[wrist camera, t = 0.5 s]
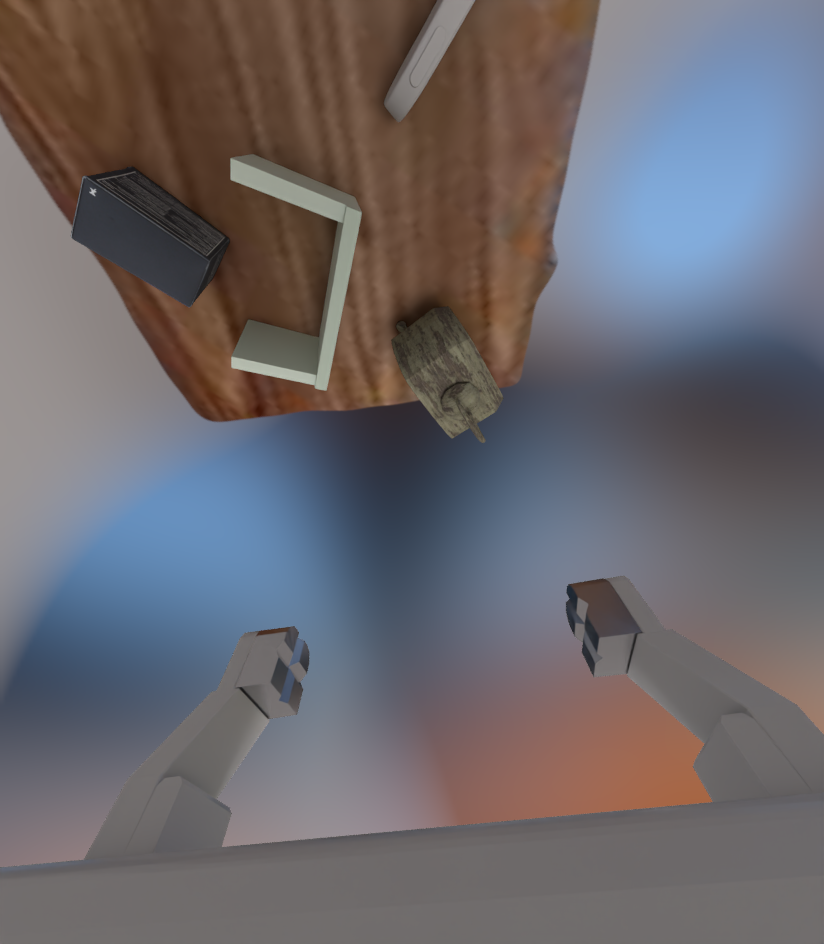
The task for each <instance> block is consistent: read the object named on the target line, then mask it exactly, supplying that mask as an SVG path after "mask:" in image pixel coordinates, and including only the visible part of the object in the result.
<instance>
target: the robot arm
mask: <svg viewBox="0 0 824 944" xmlns="http://www.w3.org/2000/svg"><path fill="white" fill-rule="evenodd" d="M567 595H568V597H569V600H568V601H567V602H566V613H567V618H568V622H569V625H570V627H571V630H572V632H573V634H574V636H575V637H576V638H577V639H579V640H580V641H581V642H583V645H582V654H583V656H584V658H585V660H586V662H587V664H588V666H589V668H590V671H591V673H592V674H593V677H599V676H610V675H619V674H627V676H628V677H629V678H630V679H631V680H633V681H634V682H635V683H636V684H637V685H638V686H639V687H641V688H642V689H643V690H644V691H645V692H646V693H647V694H649V695H650V696H651V697H652V698H653V699H654V700H655V701H657V702H658V703H659V704H660V705H661V706H662V707H663V708H665V709H666V710H667V711H668V712H669V713H670V714H671V715H672V716H674V717H675V718H676V719H677V720H678V721H679V722H681V723H682V724H683V725H684V726H685V727H686V728H687V729H688V730H690V731H691V732H692V733H693V734H694V735H696V736H697V737H698V738H699V739H700V740H701V741H702V742H703V743H704V746H703V748H702V749H701V751H700V753H699V754H698V756H697V758H696V760H695V762H694V765H693V768H694V770H695V771H696V773H697V775H698V777H699V778H700V780H701V782H702V784H703V785H704V787H705V789H706V791H707V792H708V794H709V796H710V797H711V799H712V801H713V802H711V803H699V804H689V805H677V806H666V807H656V808H645V809H633V810H623V811H612V812H601V813H590V814H579V815H568V816H557V817H546V818H535V819H524V820H513V821H504V822H503V821H502V822H492V823H480V824H469V825H458V826H447V827H436V828H426V829H415V830H404V831H393V832H382V833H371V834H361V835H349V836H338V837H328V838H316V839H305V840H295V841H283V842H272V843H262V844H250V845H240V846H229V847H222V843H223V840H224V837H225V834H226V830H227V827H228V823H229V820H230V817H231V814H232V813H231V810H230V808H229V807H228V806H226V805H225V804H223V803H222V802H220V801H218V800H217V798H218V796H219V795H220V794H221V792H222V790H223V789H224V787H225V786H226V785H227V783H228V782H229V780H230V779H231V777H232V776H233V774H234V773H235V771H236V770H237V768H238V767H239V765H240V764H241V762H242V761H243V759H244V758H245V756H246V755H247V754H248V752H249V751H250V749H251V748H252V746H253V745H254V743H255V741H256V740H257V739H258V737H259V736H260V734H261V733H262V731H263V730H264V728H265V727H266V725H267V724H268V722H269V719H272V718H278V717H285V716H291V715H297V713H298V709H299V704H300V700H301V696H302V692H303V688H302V685H301V683H300V681H301V680H302V679H303V678H304V676H305V675H306V674H307V671H308V666H309V650H308V646H307V644H306V643H305V641H303V640H301V639H299V638H298V634H299V632H298V630H297V629H296V628H295V627H294V626H293V627H286V628H278V629H271V630H263V631H262V630H261V631H255V632H248V633H245V634H244V635H243V636H242V637H241V638H240V639H239V642H238V644H237V646H236V648H235V651H234V653H233V655H232V657H231V660H230V662H229V664H228V666H227V669H226V671H225V673H224V675H223V678H222V680H221V682H220V685H219V687H218V689H217V691H214V692H211V693H210V694H209V695H208V696H207V697H206V698H205V699H204V700H203V701H202V702H201V704H200V705H199V706H198V707H197V708H196V709H195V710H194V711H193V712H192V713H191V714H190V715H189V716H188V717H187V718H186V719H185V720H184V721H183V722H182V723H181V724H180V725H179V726H178V728H176V730H175V731H174V732H173V733H172V734H171V735H170V736H169V737H168V738H167V739H166V740H165V741H164V742H163V743H162V744H161V745H160V746H159V747H158V748H157V749H156V750H155V751H154V753H152V754H151V756H150V757H149V758H148V759H147V760H146V761H145V762H144V763H143V764H142V765H141V766H140V767H139V768H138V769H137V770H136V771H135V772H134V773H133V774H132V775H131V776H130V777H129V778H128V779H127V781H126V783H125V784H124V787H123V788H122V790H121V792H120V794H119V796H118V797H117V799H116V801H115V803H114V805H113V807H112V809H111V810H110V812H109V814H108V816H107V818H106V820H105V821H104V823H103V825H102V827H101V829H100V831H99V833H98V835H97V836H96V838H95V840H94V842H93V844H92V845H91V847H90V849H89V851H88V853H87V855H86V857H85V858H84V860H77V861H66V862H55V863H43V864H32V865H21V866H11V867H0V944H824V735H823V733H822V732H821V731H820V730H819V729H818V728H817V727H816V726H815V725H814V723H813V722H812V721H811V720H810V719H809V718H808V717H807V716H806V715H805V713H804V712H803V711H802V710H801V709H800V708H799V707H798V706H797V705H796V704H795V703H793V702H791V701H789V700H788V699H786V698H785V697H783V696H781V695H779V694H778V693H776V692H775V691H773V690H771V689H770V688H768V687H766V686H765V685H763V684H762V683H760V682H758V681H756V680H755V679H753V678H752V677H750V676H748V675H747V674H745V673H743V672H742V671H740V670H738V669H737V668H735V667H733V666H732V665H730V664H729V663H727V662H725V661H724V660H722V659H720V658H719V657H717V656H715V655H714V654H712V653H710V652H709V651H707V650H705V649H704V648H702V647H700V646H699V645H697V644H696V643H694V642H692V641H690V640H689V639H687V638H686V637H684V636H682V635H681V634H679V633H677V632H676V631H674V630H672V629H670V630H666V629H665V628H664V626H663V625H662V624H661V623H660V621H659V620H658V618H657V617H656V616H655V614H654V613H653V611H652V610H651V609H650V607H649V606H648V605H647V603H646V602H645V601H644V599H643V598H642V596H641V595H640V594H639V592H638V591H637V590H636V588H635V587H634V585H633V584H632V583H631V581H630V580H629V579H628V578H626V577H625V576H618V577H613V578H607V579H597V580H591V581H585V582H579V583H573V584H568V586H567Z"/></svg>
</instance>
